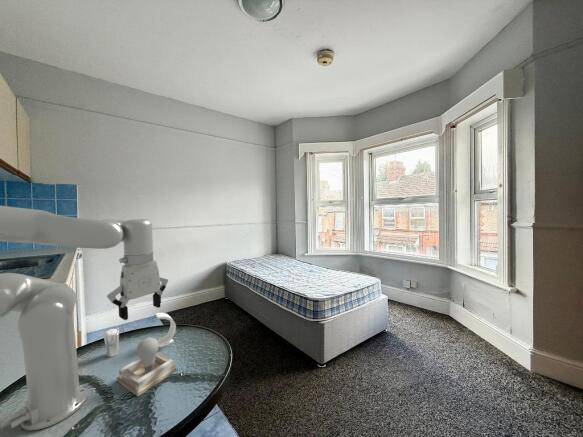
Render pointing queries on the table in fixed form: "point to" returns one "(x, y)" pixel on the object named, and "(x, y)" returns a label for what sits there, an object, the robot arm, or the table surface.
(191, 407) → the table surface
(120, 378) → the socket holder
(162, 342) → the white curved piece
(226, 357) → the table surface
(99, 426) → the table surface
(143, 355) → the lightbulb
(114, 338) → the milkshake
